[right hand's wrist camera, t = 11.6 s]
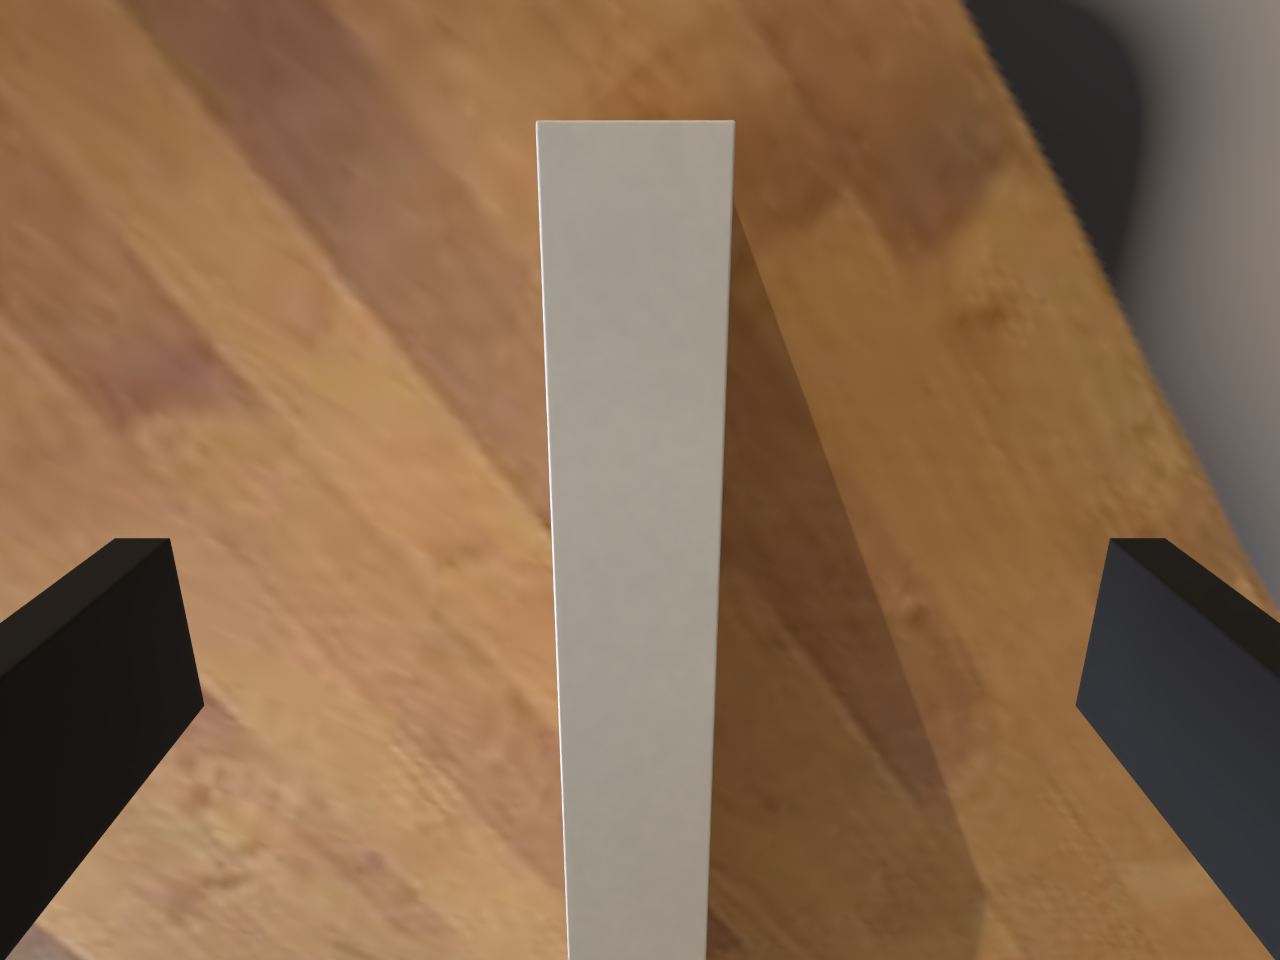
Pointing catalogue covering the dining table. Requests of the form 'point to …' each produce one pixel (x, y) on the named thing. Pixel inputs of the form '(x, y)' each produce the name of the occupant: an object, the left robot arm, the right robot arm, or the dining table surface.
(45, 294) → the dining table surface
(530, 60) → the dining table surface
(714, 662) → the bar
